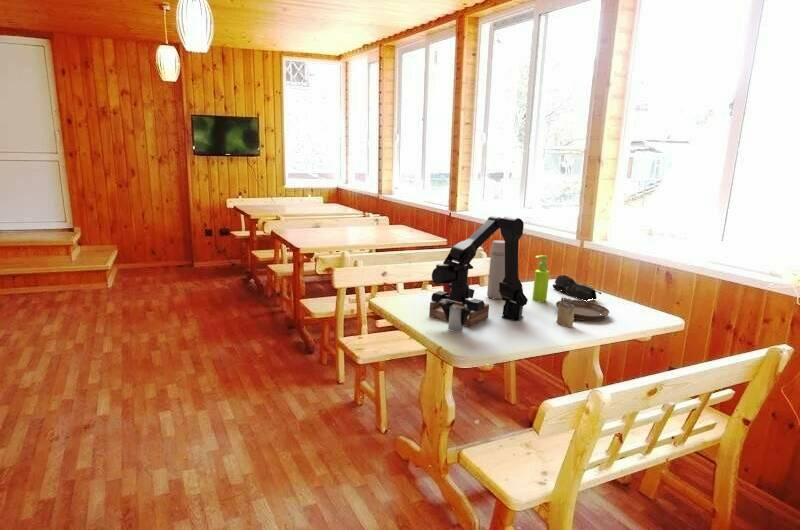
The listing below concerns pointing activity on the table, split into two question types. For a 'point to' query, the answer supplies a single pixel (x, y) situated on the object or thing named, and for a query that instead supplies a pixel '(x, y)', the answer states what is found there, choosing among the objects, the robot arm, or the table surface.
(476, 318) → the wooden tray
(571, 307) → the tan upright block
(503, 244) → the water bottle
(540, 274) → the soap dispenser
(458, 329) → the grey rounded cone
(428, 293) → the table surface
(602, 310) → the plant saucer
